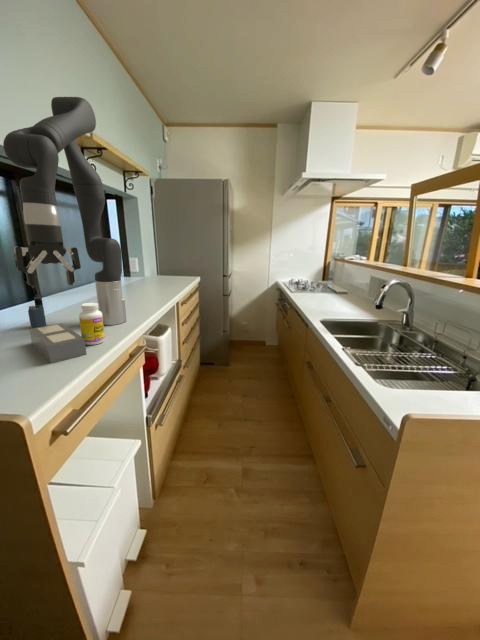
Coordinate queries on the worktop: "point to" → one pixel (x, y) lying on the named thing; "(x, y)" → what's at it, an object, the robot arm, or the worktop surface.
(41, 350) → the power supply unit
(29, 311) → the vaping device
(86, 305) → the supplement bottle
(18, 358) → the worktop surface
